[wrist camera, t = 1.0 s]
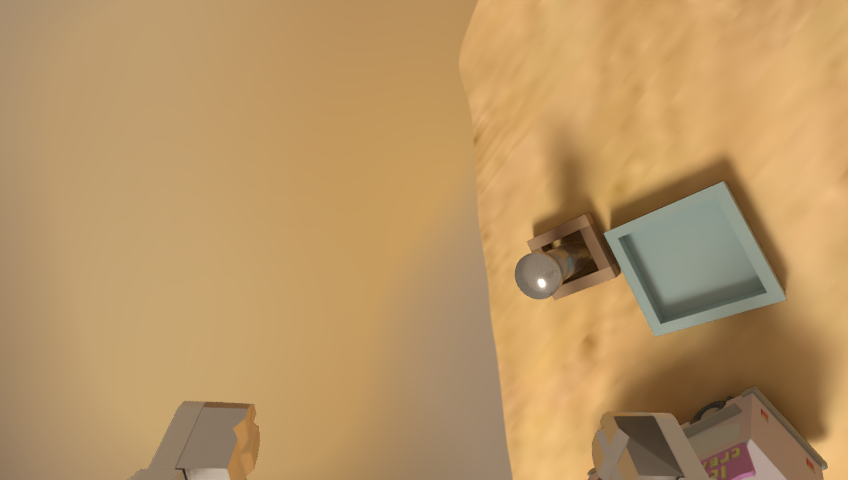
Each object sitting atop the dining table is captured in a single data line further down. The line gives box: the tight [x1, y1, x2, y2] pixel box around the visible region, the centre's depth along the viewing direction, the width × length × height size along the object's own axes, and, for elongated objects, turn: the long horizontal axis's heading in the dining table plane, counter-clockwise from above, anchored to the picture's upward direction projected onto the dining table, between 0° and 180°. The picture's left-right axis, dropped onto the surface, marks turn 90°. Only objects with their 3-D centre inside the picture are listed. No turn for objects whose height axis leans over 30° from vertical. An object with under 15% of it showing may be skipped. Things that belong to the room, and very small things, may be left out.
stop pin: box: [515, 241, 590, 299], centre depth 48 cm, size 4×4×11 cm
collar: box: [527, 213, 620, 300], centre depth 51 cm, size 7×7×2 cm
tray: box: [604, 180, 787, 337], centre depth 45 cm, size 11×11×2 cm
